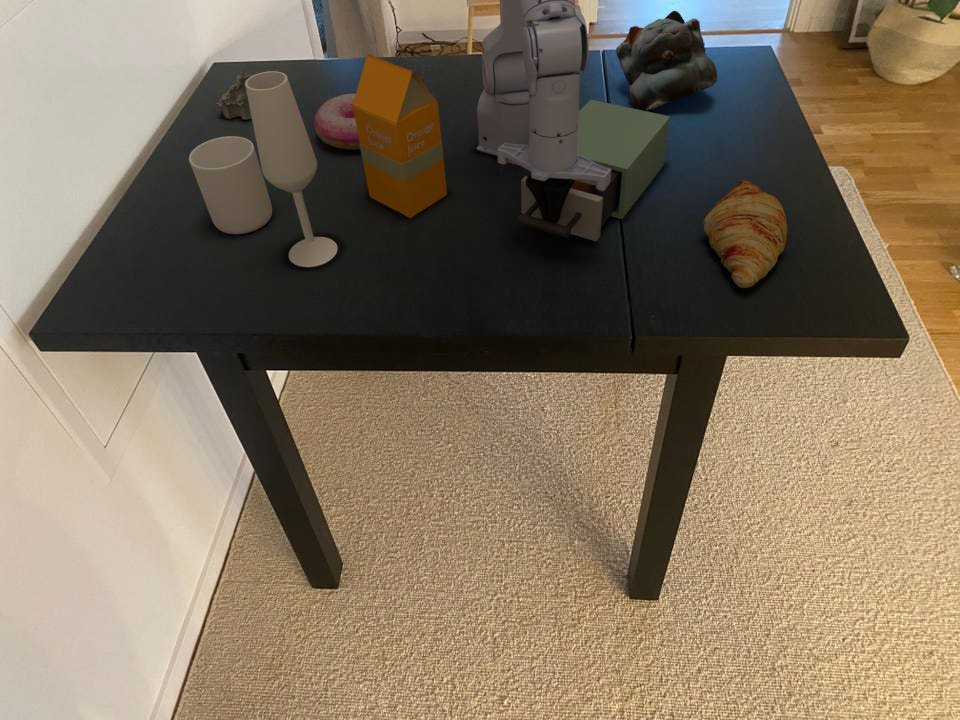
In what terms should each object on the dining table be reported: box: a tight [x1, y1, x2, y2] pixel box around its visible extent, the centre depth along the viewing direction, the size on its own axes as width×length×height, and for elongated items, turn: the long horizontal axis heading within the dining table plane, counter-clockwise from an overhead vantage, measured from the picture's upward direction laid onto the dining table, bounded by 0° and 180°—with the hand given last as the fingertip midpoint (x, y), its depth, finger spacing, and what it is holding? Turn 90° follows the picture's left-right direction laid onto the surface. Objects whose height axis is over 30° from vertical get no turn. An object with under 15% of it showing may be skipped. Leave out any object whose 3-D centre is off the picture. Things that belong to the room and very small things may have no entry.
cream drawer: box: [517, 170, 622, 242], centre depth 99 cm, size 19×11×6 cm, turn 149°
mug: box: [188, 135, 273, 235], centre depth 103 cm, size 9×12×11 cm
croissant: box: [702, 179, 788, 289], centre depth 93 cm, size 21×10×8 cm, turn 167°
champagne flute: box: [245, 70, 339, 268], centre depth 91 cm, size 7×7×24 cm
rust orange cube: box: [571, 180, 598, 195], centre depth 99 cm, size 4×4×5 cm
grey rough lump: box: [215, 70, 253, 121], centre depth 129 cm, size 11×8×4 cm
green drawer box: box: [577, 99, 671, 220], centre depth 105 cm, size 15×12×8 cm
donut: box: [313, 92, 360, 151], centre depth 119 cm, size 14×13×5 cm
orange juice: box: [352, 53, 448, 219], centre depth 100 cm, size 8×9×20 cm
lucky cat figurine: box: [615, 10, 718, 112], centre depth 121 cm, size 15×12×14 cm
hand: (551, 221), depth 95 cm, fingers closed
